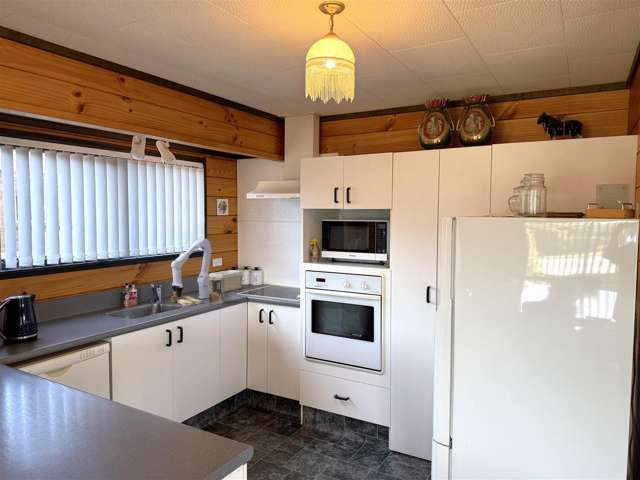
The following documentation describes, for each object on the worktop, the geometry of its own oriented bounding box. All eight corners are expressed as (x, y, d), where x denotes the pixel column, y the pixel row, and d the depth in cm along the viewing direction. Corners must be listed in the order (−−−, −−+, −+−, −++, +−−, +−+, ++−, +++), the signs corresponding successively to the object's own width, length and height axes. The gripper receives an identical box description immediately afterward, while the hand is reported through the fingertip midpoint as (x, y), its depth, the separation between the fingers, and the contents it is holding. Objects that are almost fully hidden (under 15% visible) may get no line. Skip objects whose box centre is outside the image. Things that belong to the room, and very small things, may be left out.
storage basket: (230, 286, 377) (229, 269, 376) (244, 288, 369) (243, 270, 368) (208, 291, 357) (207, 273, 356) (223, 293, 349) (222, 274, 348)
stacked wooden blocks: (185, 299, 326) (184, 289, 326) (187, 300, 322) (187, 290, 322) (171, 301, 320) (170, 291, 319) (173, 302, 316) (173, 292, 315)
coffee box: (225, 302, 314) (223, 279, 313) (222, 304, 308) (221, 280, 307) (212, 302, 315) (211, 279, 314) (209, 304, 309) (208, 281, 308)
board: (189, 298, 331) (189, 296, 330) (202, 303, 312) (202, 300, 312) (173, 301, 323) (173, 298, 323) (185, 306, 304) (185, 303, 304)
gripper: (167, 277, 322) (169, 295, 323) (175, 279, 311) (176, 298, 312) (177, 276, 327) (178, 294, 328) (185, 278, 315) (186, 297, 316)
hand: (178, 296), depth 320 cm, fingers closed on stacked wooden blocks, 4 cm apart
